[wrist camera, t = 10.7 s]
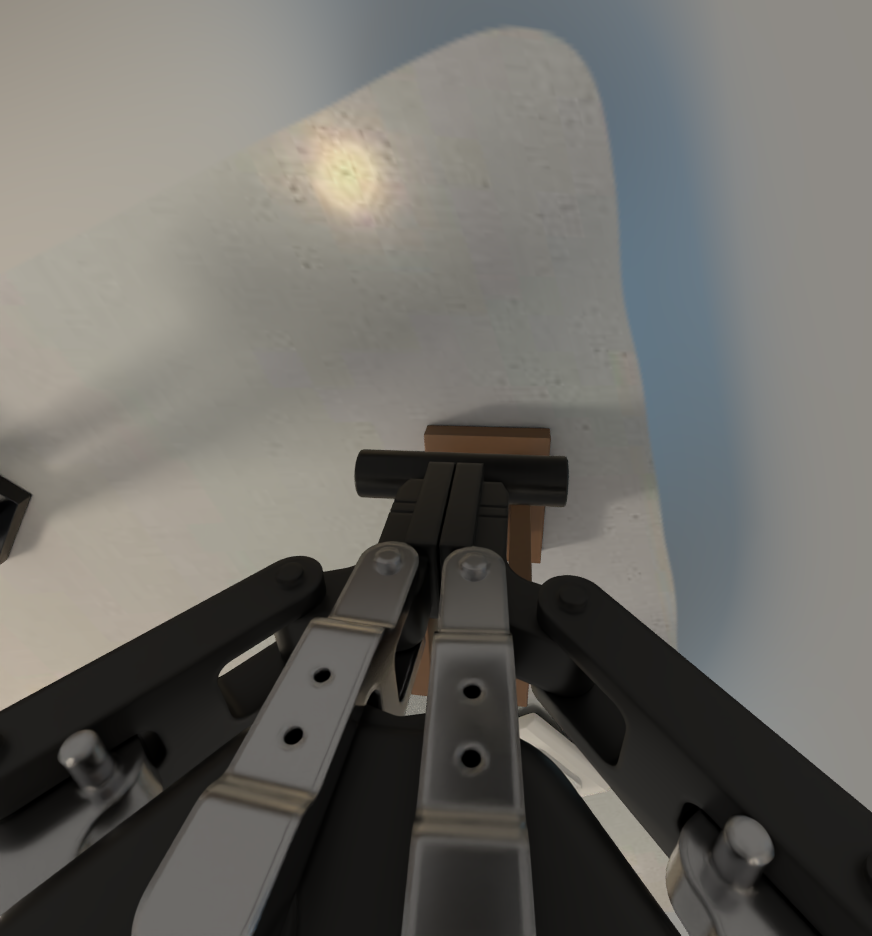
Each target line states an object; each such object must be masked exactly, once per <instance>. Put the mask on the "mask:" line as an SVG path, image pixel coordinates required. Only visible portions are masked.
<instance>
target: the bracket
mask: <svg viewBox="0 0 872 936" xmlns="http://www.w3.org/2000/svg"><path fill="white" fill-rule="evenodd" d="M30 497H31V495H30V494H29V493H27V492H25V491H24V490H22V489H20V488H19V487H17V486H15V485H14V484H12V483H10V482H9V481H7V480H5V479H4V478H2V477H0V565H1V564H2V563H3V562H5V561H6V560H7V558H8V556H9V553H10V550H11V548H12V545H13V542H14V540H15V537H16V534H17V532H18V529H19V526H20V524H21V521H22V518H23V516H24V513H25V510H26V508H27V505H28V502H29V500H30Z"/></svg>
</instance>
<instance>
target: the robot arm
mask: <svg viewBox="0 0 872 936" xmlns="http://www.w3.org/2000/svg"><path fill="white" fill-rule="evenodd" d="M508 508H509V493H508V491H507V490H506V488H505V487H504V485H503V483H502V482H484V464H479V463H457V466H456V463H450V462H429V464H428V467H427V470H426V474H425V477H424V479H411V478H410V479H409V480H408V481H407V482H406V483H404V484H403V485H402V486H401V487H400V488H399V489H398V492H397V495H396V497H395V500H394V503H393V505H392V508H391V512H390V513H389V516H388V518H387V521H386V524H385V526H384V529H383V531H382V534H381V537H380V539H379V542H378V544H376V545H374V546H372V547H370V548H368V549H367V550H366V551H364V552H363V554H362V555H361V556H360V558H359V560H358V562H357V564H356V565H355V566H352V567H348V568H344V569H338V570H332V571H326V572H323V570H322V566H321V564H320V563H319V562H318V561H316V560H315V559H313V558H310V557H307V556H293V557H288V558H285V559H282V560H279V561H277V562H275V563H273V564H271V565H270V566H268V567H266V568H264V569H262V570H260V571H259V572H257V573H255V574H253V575H251V576H249V577H247V578H246V579H244V580H242V581H240V582H238V583H236V584H235V585H233V586H231V587H229V588H227V589H225V590H223V591H222V592H220V593H218V594H216V595H214V596H212V597H210V598H209V599H207V600H205V601H203V602H201V603H199V604H198V605H196V606H194V607H192V608H190V609H188V610H186V611H185V612H183V613H181V614H179V615H177V616H175V617H174V618H172V619H170V620H168V621H166V622H164V623H162V624H161V625H159V626H157V627H155V628H153V629H151V630H149V631H148V632H146V633H144V634H142V635H140V636H138V637H137V638H135V639H133V640H131V641H129V642H127V643H125V644H124V645H122V646H120V647H118V648H116V649H114V650H113V651H111V652H109V653H107V654H105V655H103V656H101V657H100V658H98V659H96V660H94V661H92V662H90V663H88V664H87V665H85V666H83V667H81V668H79V669H77V670H76V671H74V672H72V673H70V674H68V675H66V676H64V677H63V678H61V679H59V680H57V681H55V682H53V683H52V684H50V685H48V686H46V687H44V688H42V689H40V690H39V691H37V692H35V693H33V694H31V695H29V696H27V697H26V698H24V699H22V700H20V701H18V702H16V703H15V704H13V705H11V706H9V707H7V708H5V709H3V710H2V711H0V936H681V934H680V933H679V932H678V930H677V929H676V928H675V926H674V925H673V923H672V922H671V921H670V919H669V918H668V916H667V915H666V914H665V912H664V911H663V910H662V908H661V907H660V905H659V904H658V903H657V901H656V900H655V898H654V897H653V896H652V894H651V893H650V892H649V890H648V889H647V887H646V886H645V885H644V883H643V882H642V881H641V879H640V878H639V876H638V875H637V874H636V872H635V871H634V869H633V868H632V867H631V865H630V864H629V863H628V861H627V860H626V858H625V857H624V856H623V854H622V853H621V851H620V850H619V849H618V847H617V846H616V844H615V843H614V842H613V840H612V839H611V838H610V836H609V835H608V833H607V832H606V831H605V829H604V828H603V826H602V825H601V824H600V822H599V821H598V820H597V818H596V817H595V815H594V814H593V813H592V811H591V810H590V808H589V807H588V806H587V804H586V803H585V801H584V800H583V799H582V797H581V796H580V795H579V793H578V792H577V790H576V789H575V788H574V786H573V785H572V783H571V782H570V781H569V779H568V778H567V777H566V775H565V774H564V773H563V772H562V771H561V770H560V768H559V767H558V766H557V765H556V764H555V763H554V762H553V761H552V760H551V759H550V758H549V757H547V756H546V755H545V754H544V753H543V752H542V751H540V750H539V749H537V748H536V747H534V746H533V745H531V744H530V743H528V742H526V741H524V740H523V739H521V738H520V733H519V719H518V705H517V691H516V678H517V679H519V680H521V681H524V682H526V683H529V684H531V688H532V691H533V693H534V695H535V697H536V698H537V700H538V701H539V702H540V703H541V704H542V706H543V707H544V708H545V709H546V710H547V712H548V713H549V714H550V715H551V716H552V718H553V719H554V720H555V721H556V722H557V724H558V725H559V726H560V727H561V728H562V730H563V731H564V732H565V733H566V735H567V736H568V737H569V738H570V739H571V741H572V742H573V743H574V744H575V745H576V747H577V748H578V749H579V750H580V751H581V753H582V754H583V755H584V756H585V757H586V759H587V760H588V761H589V762H590V763H591V765H592V766H593V767H594V768H595V770H596V771H597V772H598V773H599V774H600V776H601V777H602V778H603V779H604V780H605V782H606V783H607V784H608V785H609V786H610V788H611V789H612V790H613V791H614V792H615V794H616V795H617V796H618V797H619V798H620V800H621V801H622V802H623V803H624V805H625V806H626V807H627V808H628V809H629V811H630V812H631V813H632V814H633V815H634V817H635V818H636V819H637V820H638V821H639V823H640V824H641V825H642V826H643V827H644V829H645V830H646V831H647V832H648V833H649V835H650V836H651V837H652V838H653V840H654V841H655V842H656V843H657V844H658V846H659V847H660V848H661V849H662V850H663V852H664V853H665V854H666V855H667V856H668V858H669V861H668V864H667V867H666V887H667V892H668V896H669V899H670V902H671V904H672V906H673V909H674V911H675V913H676V914H677V916H678V918H679V919H680V921H681V922H682V924H683V926H684V927H685V929H686V930H687V932H688V934H689V936H872V812H871V811H869V810H868V809H867V808H866V807H865V806H863V805H862V804H861V803H860V802H859V801H857V800H856V799H855V798H854V797H853V796H851V795H850V794H849V793H848V792H846V791H845V790H844V789H843V788H841V787H840V786H839V785H838V784H837V783H836V782H834V781H833V780H832V779H831V778H830V777H828V776H827V775H826V774H825V773H823V772H822V771H821V770H820V769H819V768H817V767H816V766H815V765H814V764H813V763H811V762H810V761H809V760H808V759H807V758H805V757H804V756H803V755H802V754H801V753H799V752H798V751H797V750H796V749H794V748H793V747H792V746H791V745H790V744H788V743H787V742H786V741H785V740H784V739H782V738H781V737H780V736H779V735H778V734H776V733H775V732H774V731H773V730H771V729H770V728H769V727H768V726H766V725H765V724H764V723H763V722H762V721H761V720H759V719H758V718H757V717H756V716H755V715H753V714H752V713H751V712H750V711H748V710H747V709H746V708H745V707H744V706H742V705H741V704H740V703H739V702H738V701H736V700H735V699H734V698H733V697H731V696H730V695H729V694H728V693H727V692H725V691H724V690H723V689H722V688H721V687H719V686H718V685H717V684H716V683H715V682H713V681H712V680H711V679H709V677H707V676H706V675H705V674H704V673H702V672H701V671H700V670H699V669H698V668H697V667H695V666H694V665H693V664H692V663H690V662H689V661H688V660H686V658H684V657H683V656H682V655H681V654H680V653H678V652H677V651H676V650H675V649H674V648H672V647H671V646H670V645H669V644H667V643H666V642H665V641H664V640H663V639H661V638H660V637H659V636H658V635H657V634H655V633H654V632H653V631H652V630H651V629H649V628H648V627H647V626H646V625H645V624H643V623H642V622H641V621H640V620H638V619H637V618H636V617H635V616H634V615H632V614H631V613H630V612H629V611H628V610H626V609H625V608H624V607H623V606H622V605H620V604H619V603H618V602H617V601H616V600H614V599H613V598H612V597H611V596H609V595H608V594H607V593H606V592H605V591H603V590H602V589H601V588H600V587H599V586H597V585H596V584H594V583H593V582H591V581H589V580H587V579H585V578H582V577H578V576H572V575H563V576H557V577H553V578H551V579H549V580H547V581H546V582H545V583H543V584H542V585H540V584H537V583H534V582H531V581H528V580H526V579H524V578H522V577H520V576H519V575H518V574H516V573H515V572H514V571H513V570H512V569H511V567H510V566H509V564H508V562H507V535H508ZM429 618H433V619H438V626H437V631H435V632H434V635H433V643H432V653H431V664H430V674H429V684H428V695H427V705H426V713H424V714H416V715H409V716H405V713H406V709H407V706H408V703H409V699H410V696H411V692H412V689H413V686H414V682H415V679H416V676H417V672H418V669H419V665H420V662H421V659H422V655H423V652H424V649H425V644H426V643H425V634H426V631H427V626H428V622H429ZM273 634H274V635H275V639H276V642H274V643H273V644H271V645H270V646H268V647H266V648H265V649H263V650H262V651H260V652H259V653H257V654H256V655H254V656H252V657H251V658H249V659H248V660H246V661H245V662H243V663H241V664H240V665H238V666H237V667H235V668H234V669H232V670H231V671H229V672H227V673H226V674H224V675H223V676H220V677H218V676H219V673H220V672H221V670H222V669H223V667H224V666H225V665H226V664H228V663H229V662H230V661H232V660H233V659H235V658H236V657H238V656H240V655H241V654H243V653H244V652H246V651H248V650H249V649H251V648H252V647H254V646H255V645H257V644H259V643H260V642H262V641H263V640H265V639H267V638H268V637H270V636H271V635H273Z"/></svg>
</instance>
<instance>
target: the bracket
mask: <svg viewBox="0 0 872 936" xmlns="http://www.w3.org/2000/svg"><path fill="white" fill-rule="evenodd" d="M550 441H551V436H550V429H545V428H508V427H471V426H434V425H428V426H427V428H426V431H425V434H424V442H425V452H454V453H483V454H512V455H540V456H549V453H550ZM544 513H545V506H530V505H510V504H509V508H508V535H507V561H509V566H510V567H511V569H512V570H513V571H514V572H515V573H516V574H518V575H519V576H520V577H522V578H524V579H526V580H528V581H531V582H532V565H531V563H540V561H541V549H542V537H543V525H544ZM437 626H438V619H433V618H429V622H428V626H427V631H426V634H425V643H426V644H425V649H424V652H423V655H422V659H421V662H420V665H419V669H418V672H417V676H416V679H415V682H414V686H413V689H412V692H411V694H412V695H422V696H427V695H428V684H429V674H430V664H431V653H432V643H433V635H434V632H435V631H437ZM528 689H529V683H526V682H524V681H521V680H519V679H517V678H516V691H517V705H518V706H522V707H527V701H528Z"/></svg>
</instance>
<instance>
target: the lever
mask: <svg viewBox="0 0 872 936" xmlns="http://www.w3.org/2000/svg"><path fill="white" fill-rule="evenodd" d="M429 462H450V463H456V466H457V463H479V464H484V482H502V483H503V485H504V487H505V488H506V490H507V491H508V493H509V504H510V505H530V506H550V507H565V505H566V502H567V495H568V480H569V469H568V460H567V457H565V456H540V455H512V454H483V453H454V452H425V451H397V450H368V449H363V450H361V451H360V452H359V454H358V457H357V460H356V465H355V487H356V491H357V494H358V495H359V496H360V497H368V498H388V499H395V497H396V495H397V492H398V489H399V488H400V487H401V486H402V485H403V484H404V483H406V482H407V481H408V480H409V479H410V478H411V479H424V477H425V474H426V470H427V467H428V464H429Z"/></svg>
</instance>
